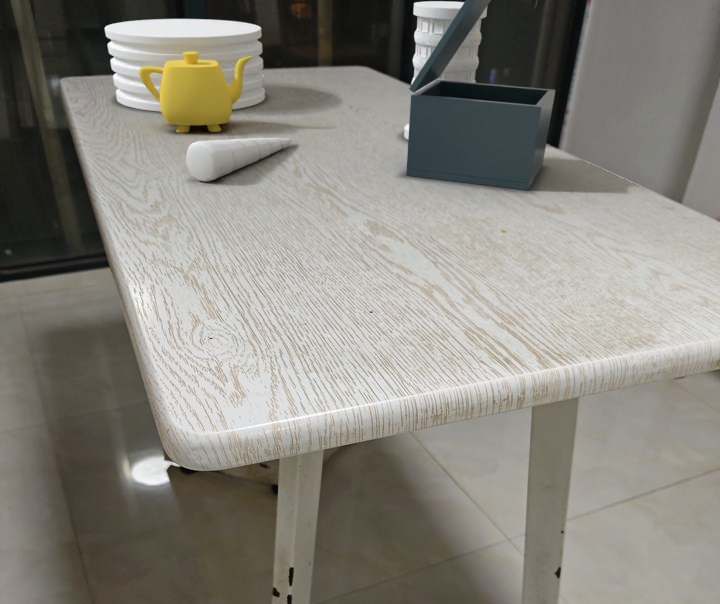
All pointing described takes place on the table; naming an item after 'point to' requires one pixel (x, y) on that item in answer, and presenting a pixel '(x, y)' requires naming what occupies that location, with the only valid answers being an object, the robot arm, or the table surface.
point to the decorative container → (429, 33)
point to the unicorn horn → (228, 155)
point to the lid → (450, 43)
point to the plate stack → (169, 41)
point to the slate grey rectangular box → (478, 133)
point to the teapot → (195, 91)
